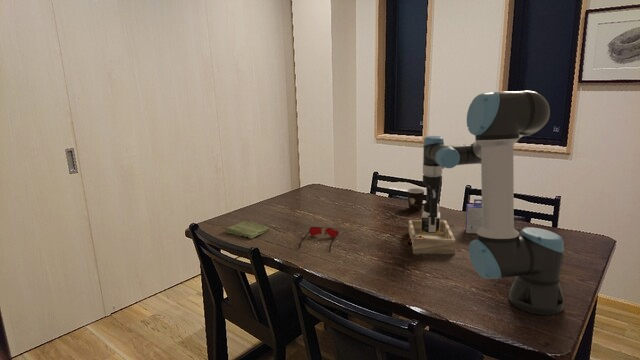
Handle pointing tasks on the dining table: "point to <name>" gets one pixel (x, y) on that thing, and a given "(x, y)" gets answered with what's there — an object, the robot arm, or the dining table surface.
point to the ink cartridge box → (473, 216)
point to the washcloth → (247, 229)
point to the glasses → (317, 230)
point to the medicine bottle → (426, 219)
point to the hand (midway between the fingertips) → (430, 227)
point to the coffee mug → (415, 199)
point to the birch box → (431, 239)
